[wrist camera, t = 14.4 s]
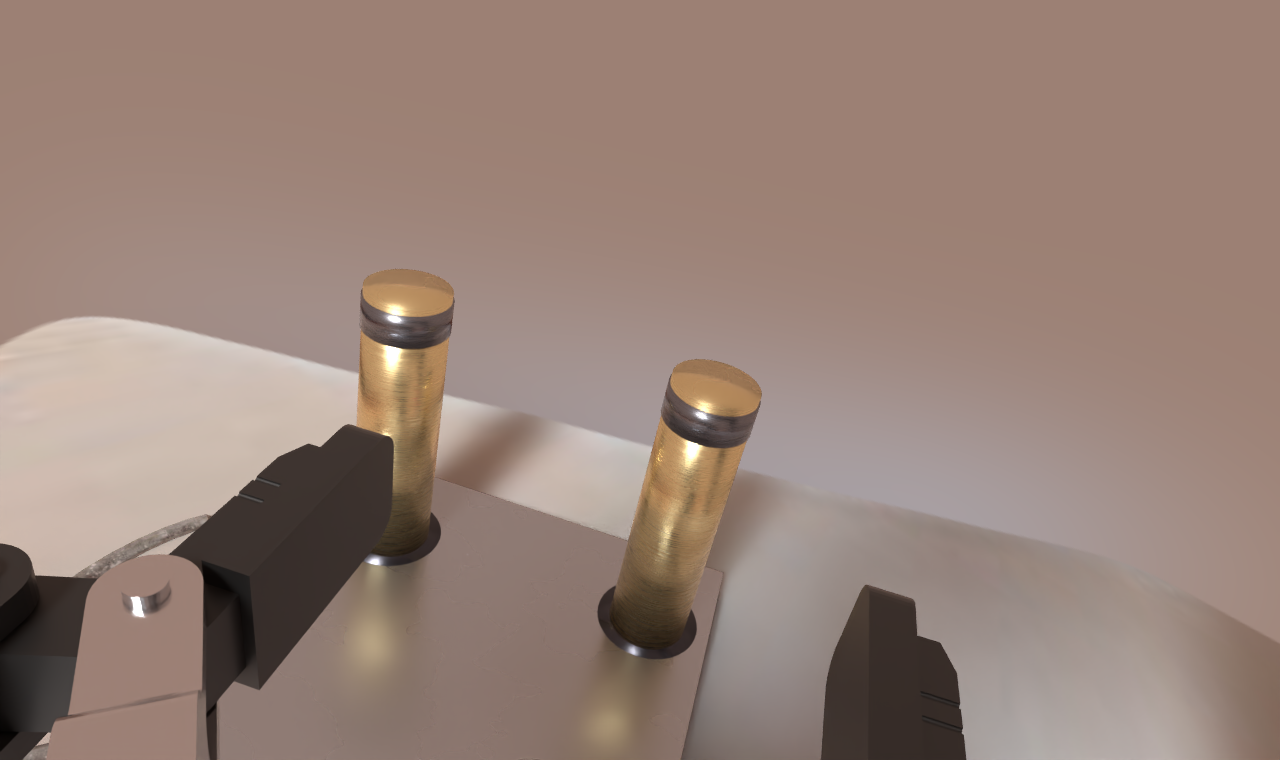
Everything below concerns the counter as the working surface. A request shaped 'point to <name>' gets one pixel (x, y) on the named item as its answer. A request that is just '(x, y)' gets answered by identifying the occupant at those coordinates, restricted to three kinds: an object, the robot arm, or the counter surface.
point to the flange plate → (477, 653)
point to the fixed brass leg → (405, 389)
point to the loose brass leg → (682, 499)
